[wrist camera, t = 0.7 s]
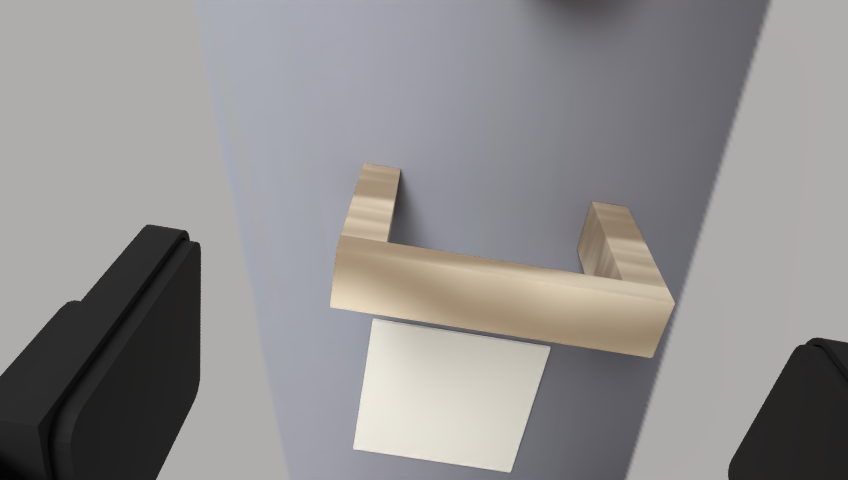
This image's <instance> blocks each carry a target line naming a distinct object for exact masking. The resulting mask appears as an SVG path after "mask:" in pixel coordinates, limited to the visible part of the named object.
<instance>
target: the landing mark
mask: <svg viewBox="0 0 848 480" xmlns="http://www.w3.org/2000/svg"><path fill="white" fill-rule="evenodd" d="M550 349H551V348H550V346H545V345H539V344H532V343H526V342H520V341H514V340H507V339H501V338H495V337H488V336H482V335H476V334H469V333H463V332H457V331H450V330H444V329H438V328H431V327H425V326H419V325H412V324H406V323H400V322H394V321H387V320H381V319H375V318H373V322H372V329H371V335H370V342H369V348H368V355H367V361H366V368H365V375H364V381H363V388H362V394H361V401H360V407H359V414H358V420H357V427H356V433H355V440H354V447H353V449H357V450H364V451H370V452H377V453H384V454H390V455H397V456H404V457H410V458H417V459H424V460H430V461H437V462H443V463H450V464H457V465H463V466H470V467H477V468H483V469H490V470H497V471H503V472H510V473H511V470H512V467H513V464H514V461H515V458H516V455H517V451H518V448H519V445H520V442H521V439H522V436H523V433H524V430H525V426H526V423H527V420H528V417H529V414H530V411H531V408H532V405H533V402H534V398H535V395H536V392H537V389H538V386H539V383H540V380H541V377H542V373H543V370H544V367H545V364H546V361H547V358H548V355H549V352H550Z"/></svg>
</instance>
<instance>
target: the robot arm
mask: <svg viewBox="0 0 848 480" xmlns="http://www.w3.org/2000/svg"><path fill="white" fill-rule="evenodd" d="M200 289H201V248H200V244H199V243H198V242H193V241H190V239H189V234H188V233H187V231H185V230H179V229H174V228H168V227H162V226H155V225H146V226H145V227H144V228H143V229H142V230H141V231H140V232H139V234H138V235H137V236H136V237H135V238H134V240H133V241H132V242H131V243H130V244H129V245H128V246H127V248H126V249H125V250H124V251H123V252H122V254H121V255H120V256H119V257H118V258H117V259H116V261H115V262H114V263H113V264H112V265H111V266H110V268H109V269H108V270H107V271H106V272H105V273H104V275H103V276H102V277H101V278H100V279H99V281H98V282H97V283H96V284H95V285H94V286H93V288H92V289H91V290H90V291H89V292H88V293H87V295H86V296H85V297H84V298H83V299H82V301H75V300H74V301H70V302H67V303H66V304H65V305H64V306H63V307H62V308H60V309H59V311H58V312H57V313H56V314H55V315H54V316H53V318H51V320H50V321H49V322H48V323H47V324H46V325H45V326H44V328H43V329H42V330H41V331H40V332H39V333H38V334H37V335H36V337H35V338H34V339H33V340H32V341H31V342H30V343H29V345H28V346H27V347H26V348H25V349H24V350H23V352H21V354H20V355H19V356H18V357H17V358H16V359H15V360H14V362H13V363H12V364H11V365H10V366H9V367H8V368H7V369H6V371H5V372H4V373H3V374H2V375H1V376H0V480H156V478H157V476H158V474H159V472H160V470H161V468H162V466H163V464H164V462H165V460H166V458H167V456H168V454H169V452H170V449H171V448H172V445H173V443H174V441H175V439H176V437H177V435H178V433H179V431H180V429H181V427H182V425H183V423H184V421H185V419H186V417H187V415H188V413H189V411H190V409H191V407H192V404H193V402H194V400H195V398H196V395H197V392H198V387H199V381H200V307H201V306H200V304H201V302H200V301H201V298H200V297H201V290H200ZM728 477H729V480H848V343H846V342H840V341H835V340H829V339H823V338H813V339H811V340H809V341H808V342H807V343H806V344H805V345H799V346H798V347H796V349H795V350H794V351H793V353H792V354H791V356H790V358H789V360H788V361H787V364H786V365H785V367H784V369H783V370H782V373H781V374H780V376H779V377H778V379H777V381H776V383H775V384H774V386H773V388H772V390H771V391H770V393H769V395H768V397H767V398H766V400H765V402H764V404H763V405H762V407H761V409H760V411H759V413H758V414H757V416H756V418H755V420H754V421H753V423H752V425H751V427H750V428H749V430H748V432H747V434H746V435H745V437H744V439H743V441H742V442H741V444H740V446H739V448H738V449H737V451H736V453H735V455H734V456H733V458H732V460H731V462H730V465H729V470H728Z"/></svg>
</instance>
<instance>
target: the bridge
mask: <svg viewBox="0 0 848 480" xmlns="http://www.w3.org/2000/svg"><path fill="white" fill-rule="evenodd" d="M400 170H401V169H396V168H390V167H384V166H378V165H372V164H366V163H364V164H363V167H362V170H361V173H360V177H359V180H358V183H357V186H356V189H355V192H354V195H353V199H352V202H351V205H350V208H349V211H348V214H347V217H346V220H345V224H344V227H343V230H342V233H341V236H340V239H339V242H338V246H337V249H336V258H335V267H334V276H333V284H332V293H331V302H330V307H333V308H340V309H346V310H352V311H359V312H365V313H371V314H377V315H384V316H390V317H396V318H403V319H409V320H415V321H422V322H428V323H434V324H440V325H447V326H453V327H459V328H466V329H472V330H478V331H485V332H491V333H497V334H504V335H510V336H516V337H522V338H529V339H535V340H541V341H548V342H554V343H560V344H567V345H573V346H579V347H586V348H592V349H598V350H604V351H611V352H617V353H623V354H630V355H636V356H642V357H649V358H652V357H653V355H654V352H655V350H656V348H657V345H658V343H659V341H660V338H661V336H662V333H663V331H664V329H665V326H666V324H667V321H668V319H669V317H670V314H671V312H672V309H673V307H674V305H675V302H674V300H673V298H672V296H671V294H670V292H669V290H668V288H667V286H666V284H665V282H664V280H663V278H662V276H661V274H660V272H659V270H658V268H657V266H656V264H655V262H654V260H653V258H652V256H651V254H650V252H649V250H648V247H647V245H646V243H645V241H644V239H643V237H642V235H641V233H640V231H639V229H638V227H637V225H636V223H635V221H634V219H633V217H632V215H631V213H630V211H629V209H628V207H623V206H617V205H611V204H605V203H599V202H593V201H592V202H591V205H590V209H589V212H588V215H587V218H586V221H585V224H584V228H583V231H582V234H581V237H580V240H579V243H578V247H577V250H578V254H579V257H580V260H581V264H582V267H583V270H584V273H585V274H579V273H573V272H567V271H561V270H554V269H548V268H542V267H536V266H530V265H524V264H518V263H511V262H505V261H499V260H493V259H487V258H481V257H475V256H468V255H462V254H456V253H450V252H444V251H438V250H432V249H425V248H419V247H413V246H407V245H401V244H395V243H389V237H390V232H391V226H392V221H393V215H394V209H395V202H396V196H397V189H398V183H399V177H400Z"/></svg>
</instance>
